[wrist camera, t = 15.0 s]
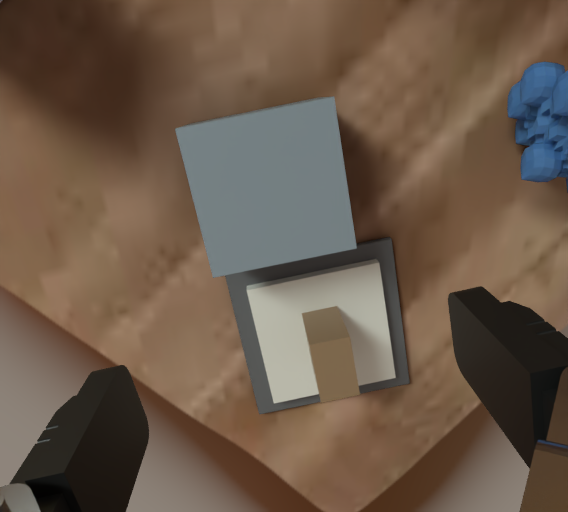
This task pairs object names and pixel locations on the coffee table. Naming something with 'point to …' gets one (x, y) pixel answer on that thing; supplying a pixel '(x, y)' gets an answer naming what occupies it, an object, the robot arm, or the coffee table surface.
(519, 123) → the grapes
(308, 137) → the storage box
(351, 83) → the coffee table surface
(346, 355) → the lid
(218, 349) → the coffee table surface
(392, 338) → the rubber mat
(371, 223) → the coffee table surface
